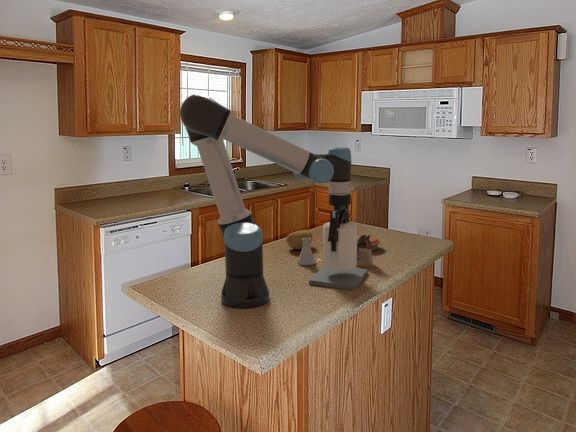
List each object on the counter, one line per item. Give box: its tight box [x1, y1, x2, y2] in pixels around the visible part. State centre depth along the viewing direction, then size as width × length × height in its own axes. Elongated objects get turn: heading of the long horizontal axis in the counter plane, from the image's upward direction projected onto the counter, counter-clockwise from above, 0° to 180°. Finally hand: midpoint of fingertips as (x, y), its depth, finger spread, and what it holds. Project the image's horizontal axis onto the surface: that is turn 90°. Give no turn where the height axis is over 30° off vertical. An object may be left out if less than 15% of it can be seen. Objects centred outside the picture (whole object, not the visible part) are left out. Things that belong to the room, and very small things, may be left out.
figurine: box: [356, 233, 374, 268], centre depth 185 cm, size 7×7×12 cm
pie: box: [357, 234, 381, 252], centre depth 207 cm, size 15×16×5 cm
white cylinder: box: [322, 221, 358, 270], centre depth 168 cm, size 11×11×14 cm
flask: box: [297, 238, 317, 267], centre depth 187 cm, size 7×7×10 cm
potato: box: [286, 229, 313, 250], centre depth 208 cm, size 10×14×8 cm
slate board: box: [308, 266, 369, 291], centre depth 170 cm, size 18×16×2 cm
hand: (339, 255), depth 168 cm, fingers closed on white cylinder, 11 cm apart
